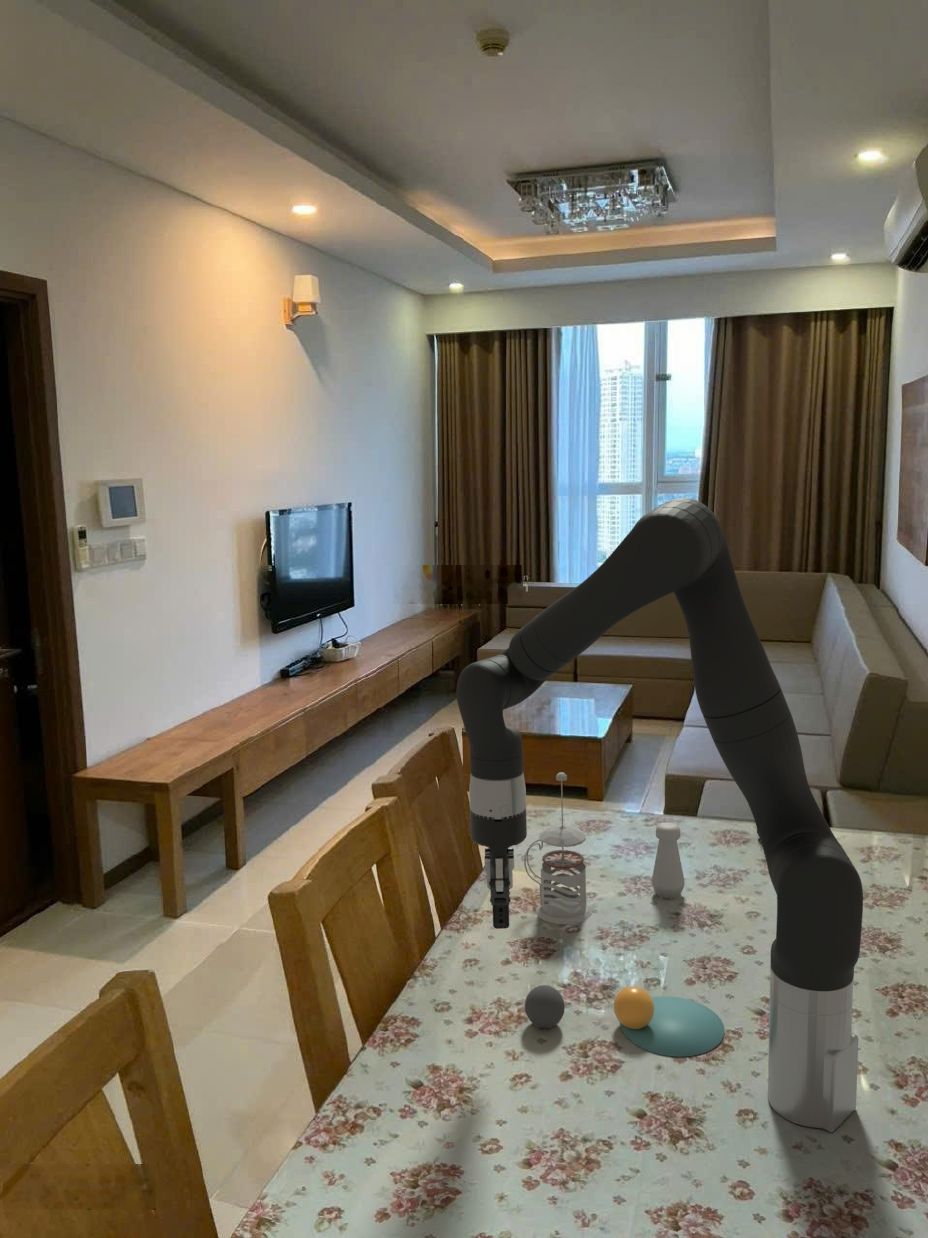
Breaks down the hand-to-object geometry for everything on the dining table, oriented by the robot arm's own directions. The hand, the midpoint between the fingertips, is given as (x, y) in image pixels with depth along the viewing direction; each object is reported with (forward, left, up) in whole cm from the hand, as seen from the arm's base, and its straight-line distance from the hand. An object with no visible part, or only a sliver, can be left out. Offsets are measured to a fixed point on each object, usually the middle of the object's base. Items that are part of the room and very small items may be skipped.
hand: (501, 926), depth 131 cm
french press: (+18, -31, -15) cm, 39 cm away
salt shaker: (+8, -49, -15) cm, 52 cm away
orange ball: (-13, -13, -12) cm, 22 cm away
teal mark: (-16, -16, -15) cm, 27 cm away
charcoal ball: (-4, -4, -12) cm, 14 cm away
